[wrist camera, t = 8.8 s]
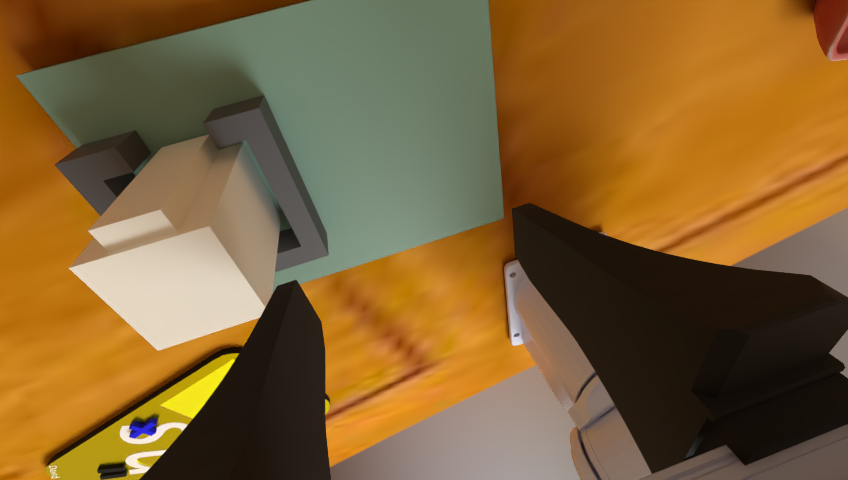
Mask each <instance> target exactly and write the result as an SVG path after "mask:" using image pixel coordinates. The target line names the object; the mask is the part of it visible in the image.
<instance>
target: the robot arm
mask: <svg viewBox="0 0 848 480" xmlns="http://www.w3.org/2000/svg"><path fill="white" fill-rule="evenodd" d="M512 216H513V229H514V243H515V256H516V258H517V260H515V261H512V262H509V263H507V264H506V265H505V267H504V275H505V287H506V299H507V311H508V324H509V336H510V342H511V344H512V345H513V346H517V345H520V344H523V343H524V345H525V346H526V348H527V350H528V351H529V353H530V355H531V356H532V358H533V360H534V361H535V363H536V365H537V366H538V368H539V370H540V371H541V373H542V375H543V377H544V378H545V380H546V382H547V383H548V385H549V387H550V388H551V390H552V392H553V393H554V395H555V397H556V398H557V400H558V401H559V402H560V404H561V405H562V406H563V407H564V408H565V409H566V410H567V411H568V413H569V415H570V416H571V418H572V420H573V421H574V423H575V425H576V427H575V428H573V429H572V431H571V434H570V444H571V455H572V459H573V462H574V465H575V468H576V470H577V473H578V475H579V477H580V479H581V480H848V378H846V377H845V376H844V375H842V374H841V373H840V372H841V371H843V370H844V368H845V366H844V364H843V363H842V362H840V361H839V360H838V359H836V358H835V357H833V356H832V355H831V354H829V352H830V351H831V350H832V348H833V347H834V346H835V345H836V343H837V342H838V341H839V340H840V338H841V337H842V336H843V335H844V333H845V332H846V331H847V330H848V297H846V296H845V295H843V294H841V293H840V292H838V291H836V290H834V289H833V288H831V287H829V286H828V285H826V284H824V283H822V282H821V281H819V280H817V279H816V278H814V277H812V276H810V275H803V274H793V273H783V272H773V271H763V270H753V269H746V268H740V267H733V266H726V265H720V264H714V263H708V262H703V261H697V260H693V259H688V258H683V257H679V256H674V255H670V254H666V253H662V252H658V251H654V250H650V249H647V248H643V247H640V246H636V245H633V244H630V243H627V242H624V241H620V240H618V239H615V238H612V237H609V236H608V235H607V234H605V233H604V232H599V233H598V232H596V231H593V230H591V229H588V228H586V227H583V226H581V225H579V224H576V223H574V222H572V221H569V220H567V219H565V218H562V217H560V216H558V215H556V214H553V213H551V212H549V211H547V210H545V209H542V208H540V207H538V206H535V205H533V204H530V203H528V204H525V205H522V206H519V207H516V208H513V209H512ZM511 273H512V274H511ZM139 480H331V475H330V467H329V458H328V448H327V439H326V424H325V345H324V337H323V330H322V324H321V320H320V319H319V317H318V315H317V314H316V312H315V310H314V309H313V307H312V305H311V304H310V302H309V300H308V298H307V297H306V295H305V293H304V292H303V290H302V288H301V287H300V285H299V283H298V281H297V280H293V281H290V282H287V283H284V284H281V285H278V286H277V287H276V289H275V291H274V292H273V294H272V296H271V298H270V300H269V302H268V304H267V305H266V307H265V309H264V311H263V313H262V315H261V317H260V318H259V320H258V322H257V324H256V326H255V327H254V329H253V331H252V333H251V335H250V336H249V338H248V340H247V342H246V343H245V345H244V347H243V348H242V350H241V351H240V353H239V355H238V356H237V358H236V359H235V361H234V363H233V364H232V366H231V367H230V369H229V371H228V372H227V374H226V375H225V377H224V378H223V380H222V381H221V382H220V384H219V385H218V387H217V388H216V389H215V391H214V392H213V393H212V395H211V396H210V397H209V399H208V400H207V402H206V403H205V404H204V406H203V407H202V408H201V409H200V411H199V412H198V413H197V414H196V416H195V417H194V418H193V419H192V420H191V422H190V423H189V424H188V425H187V426H186V428H185V429H184V430H183V431H182V432H181V434H180V435H179V436H178V437H177V438H176V440H175V441H174V442H173V443H172V444H171V446H170V447H169V448H168V449H167V450H166V451H165V452H164V453H163V454H162V456H161V457H160V458H159V459H158V460H157V461H156V462H155V463H154V464H153V465H152V466H151V468H150V469H149V470H148V471H147V472H146V473H145V474H144V475H143V476H142V477H141V478H140V479H139Z"/></svg>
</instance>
